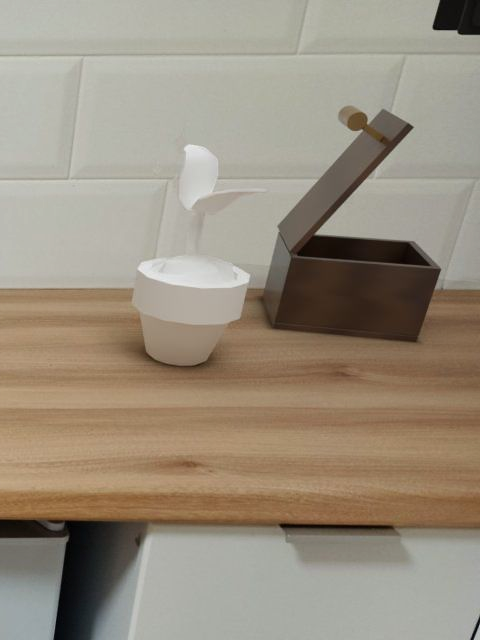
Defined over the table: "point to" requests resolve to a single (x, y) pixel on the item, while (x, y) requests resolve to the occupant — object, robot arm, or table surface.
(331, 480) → the table surface
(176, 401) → the table surface
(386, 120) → the lid
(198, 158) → the potted plant
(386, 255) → the chest
